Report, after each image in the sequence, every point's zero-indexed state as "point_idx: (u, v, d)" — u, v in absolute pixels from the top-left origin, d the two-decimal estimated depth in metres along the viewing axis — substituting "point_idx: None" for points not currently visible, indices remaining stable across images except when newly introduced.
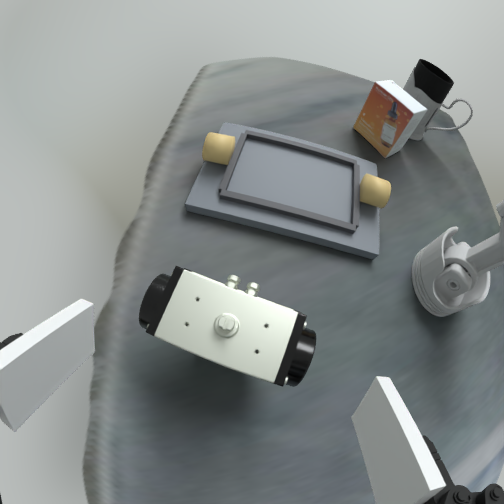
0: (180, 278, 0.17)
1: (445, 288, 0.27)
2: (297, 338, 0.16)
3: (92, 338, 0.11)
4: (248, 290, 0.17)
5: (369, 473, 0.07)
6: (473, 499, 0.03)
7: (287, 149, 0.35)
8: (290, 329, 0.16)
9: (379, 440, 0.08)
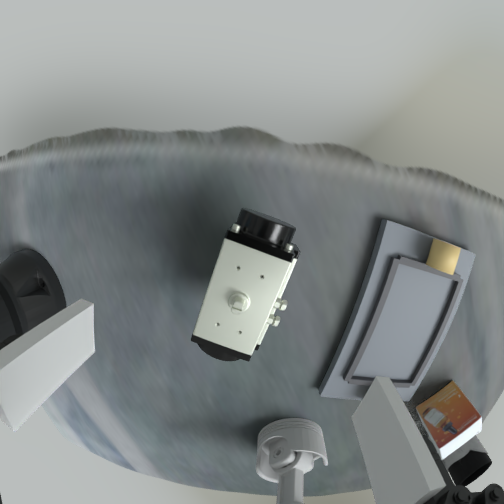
0: (282, 260, 0.18)
1: (278, 445, 0.31)
2: (229, 353, 0.19)
3: (92, 338, 0.11)
4: (271, 318, 0.19)
5: (369, 473, 0.07)
6: (473, 499, 0.03)
7: (437, 321, 0.28)
8: (236, 349, 0.19)
9: (379, 440, 0.08)
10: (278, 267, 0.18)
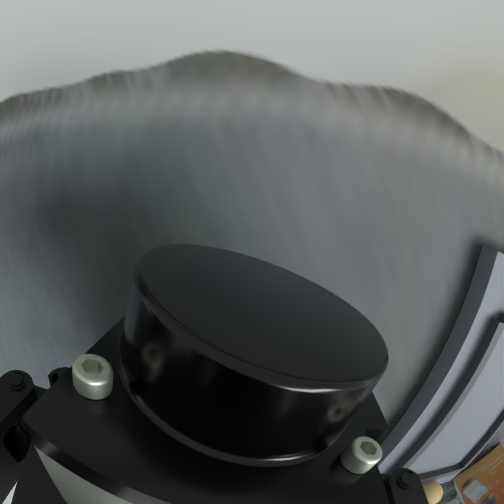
0: None
1: None
2: None
3: None
4: None
5: None
6: None
7: None
8: None
9: None
10: None
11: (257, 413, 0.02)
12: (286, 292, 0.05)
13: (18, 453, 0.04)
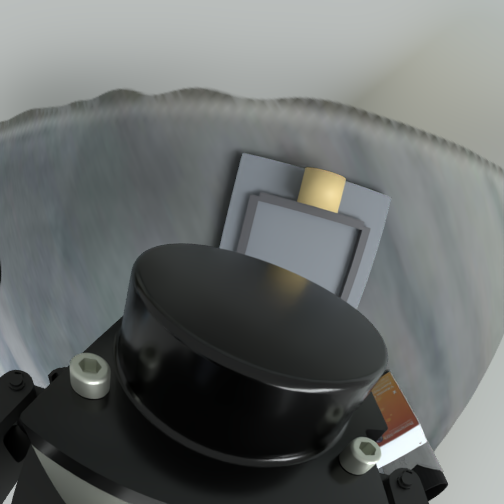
0: None
1: None
2: None
3: None
4: None
5: None
6: None
7: (339, 283, 0.26)
8: None
9: None
10: None
11: (255, 413, 0.02)
12: (285, 291, 0.05)
13: (18, 453, 0.04)
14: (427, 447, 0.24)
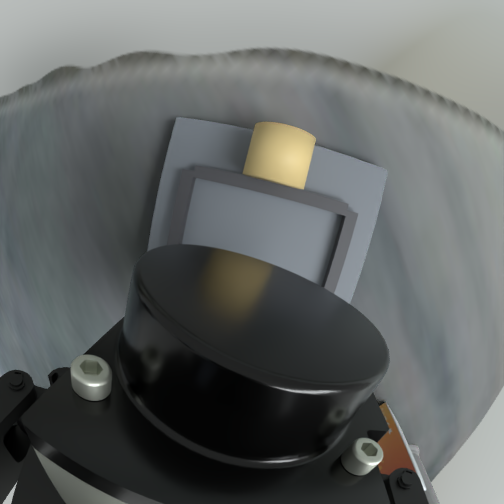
0: None
1: None
2: None
3: None
4: None
5: None
6: None
7: None
8: None
9: None
10: None
11: (257, 415, 0.02)
12: (286, 292, 0.05)
13: (18, 453, 0.04)
14: (427, 486, 0.16)
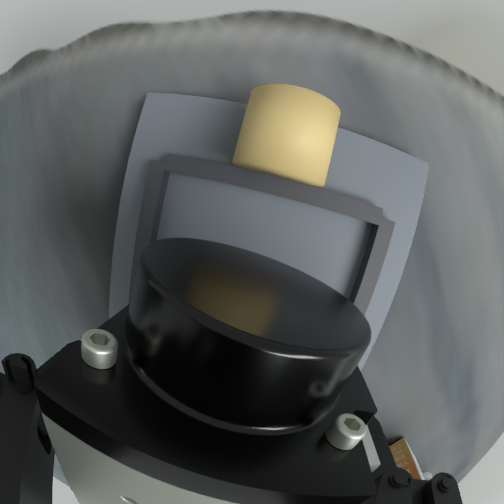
0: None
1: None
2: None
3: None
4: None
5: None
6: (419, 487, 0.04)
7: None
8: None
9: None
10: None
11: (241, 375, 0.03)
12: (277, 279, 0.05)
13: None
14: None
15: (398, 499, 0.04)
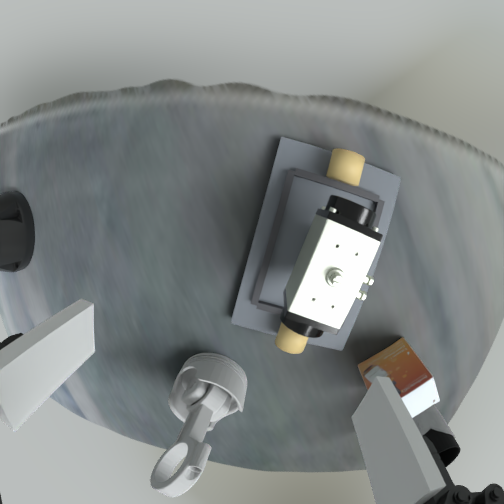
0: (373, 239, 0.19)
1: (194, 380, 0.34)
2: (320, 328, 0.21)
3: (92, 338, 0.11)
4: (360, 292, 0.20)
5: (369, 473, 0.07)
6: (473, 499, 0.03)
7: None
8: (327, 323, 0.21)
9: (379, 440, 0.08)
10: (370, 245, 0.19)
11: (359, 211, 0.20)
12: None
13: None
14: (439, 414, 0.27)
15: None
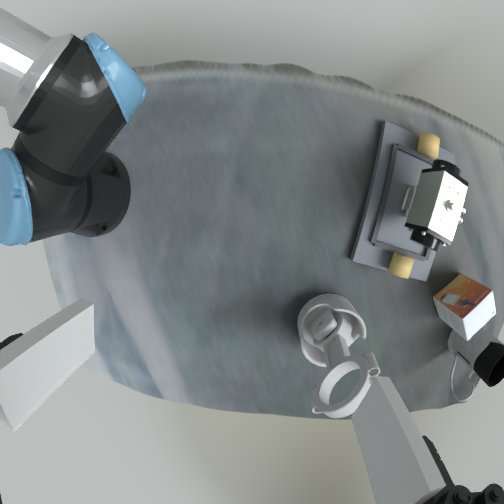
0: (464, 185, 0.26)
1: (319, 318, 0.40)
2: (443, 240, 0.27)
3: (92, 338, 0.11)
4: (460, 217, 0.27)
5: (369, 473, 0.07)
6: (473, 499, 0.03)
7: None
8: (446, 237, 0.27)
9: (379, 440, 0.08)
10: (463, 188, 0.26)
11: (455, 168, 0.26)
12: None
13: None
14: None
15: None
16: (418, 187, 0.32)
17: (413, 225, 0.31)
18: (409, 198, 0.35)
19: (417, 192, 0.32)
